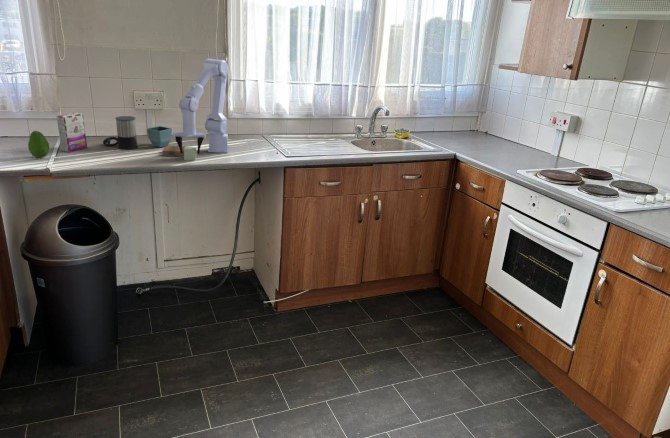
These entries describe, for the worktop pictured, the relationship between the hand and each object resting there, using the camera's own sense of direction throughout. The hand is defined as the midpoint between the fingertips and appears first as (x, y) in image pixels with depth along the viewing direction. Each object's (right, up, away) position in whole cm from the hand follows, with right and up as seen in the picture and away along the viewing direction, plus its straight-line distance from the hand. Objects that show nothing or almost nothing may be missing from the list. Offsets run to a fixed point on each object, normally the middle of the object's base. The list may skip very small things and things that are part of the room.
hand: (190, 153), depth 236 cm
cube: (0, -3, +1) cm, 3 cm away
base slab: (-9, +1, +7) cm, 12 cm away
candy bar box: (-55, +2, +1) cm, 55 cm away
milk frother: (-38, +4, +12) cm, 40 cm away
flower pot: (-20, +6, +18) cm, 28 cm away
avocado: (-61, -4, -15) cm, 63 cm away
